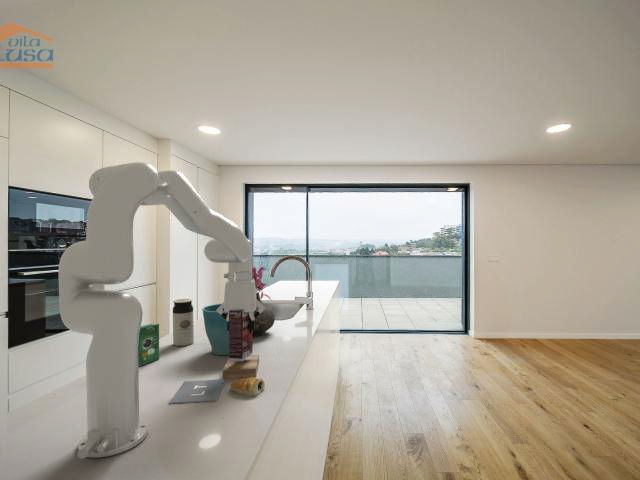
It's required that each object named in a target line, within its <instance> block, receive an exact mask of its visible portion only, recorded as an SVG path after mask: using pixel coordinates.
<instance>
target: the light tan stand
mask: <svg viewBox="0 0 640 480" xmlns="http://www.w3.org/2000/svg"><path fill="white" fill-rule="evenodd" d="M259 364H260V355H259V354H251V355H249V356H248V357H247V358H246V359H244V360H243V361H229V358H228V359H227V361H226V363H225V365H224V367H223V369H222V379H232V378H233V379H237V378H238V379H239V378H249V377H253V378H257V373H258V369H259Z"/></svg>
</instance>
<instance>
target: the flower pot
mask: <svg viewBox="0 0 640 480" xmlns="http://www.w3.org/2000/svg"><path fill="white" fill-rule="evenodd" d="M221 304H222V303H217V304H210V305H207V306H204V307H202V308H201V310H202V315H203V323H204V329H205V333H206V337H207V340H208V342H209V344H210V347H211V348H210V349H211V353H212V354H214V355H218V356H229V331H227V321H226V319H224V318H223V317H222V315H221V314H219V313H218V312H217V311H216V310H217V309H218V308H219V307H220V305H221ZM223 311H224V308H223ZM224 312H225V311H224ZM227 314H228V313H227Z"/></svg>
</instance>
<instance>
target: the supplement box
mask: <svg viewBox="0 0 640 480" xmlns="http://www.w3.org/2000/svg"><path fill="white" fill-rule="evenodd" d="M249 321H250V315H249V313H245V311H244V310H229V355H228V356H229V357H228V359H229V361H243V360H244V359H246V358H247V357H248V356H249V355H253V336H252V333H250V324H249Z"/></svg>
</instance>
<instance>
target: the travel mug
mask: <svg viewBox="0 0 640 480" xmlns="http://www.w3.org/2000/svg"><path fill="white" fill-rule="evenodd" d="M172 302H173V305H174V306H173V307H172V342H173V343H172V344H173V345H174V346H177V347H184V346H185V347H186V346H189V345H192V344H193V343H195V332H194V331H195V330H194V326H195V325H194V323H195V322H194V306H193V304H192V302H193V299H192V298H178V299H173V301H172Z"/></svg>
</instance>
